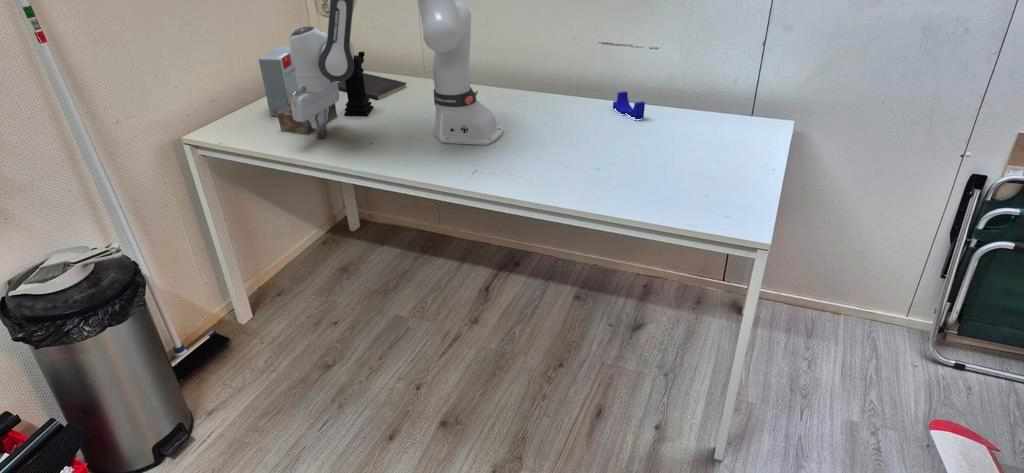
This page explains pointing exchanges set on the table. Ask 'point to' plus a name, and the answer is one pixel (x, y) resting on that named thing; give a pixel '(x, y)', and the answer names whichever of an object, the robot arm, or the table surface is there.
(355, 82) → the chess piece
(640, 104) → the cable clip
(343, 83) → the hardcover book
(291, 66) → the hard drive box
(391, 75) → the table surface
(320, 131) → the pin
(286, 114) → the bore block
